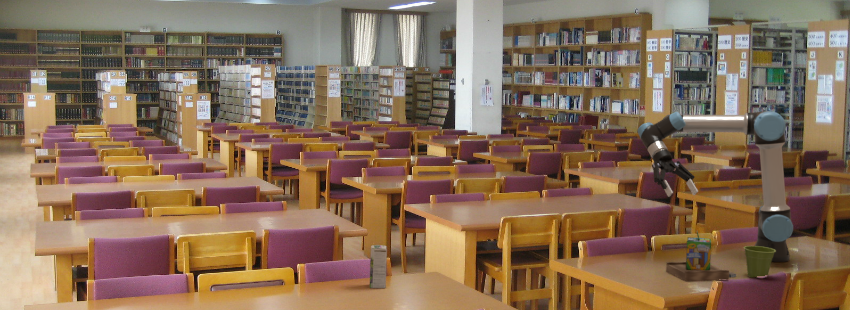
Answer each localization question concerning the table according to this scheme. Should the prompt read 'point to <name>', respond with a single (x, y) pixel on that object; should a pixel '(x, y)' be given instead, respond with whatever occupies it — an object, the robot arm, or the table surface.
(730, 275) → the grey stepped bar
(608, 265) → the table surface
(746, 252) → the plant pot
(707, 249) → the chalk box
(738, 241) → the table surface
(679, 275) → the tray
